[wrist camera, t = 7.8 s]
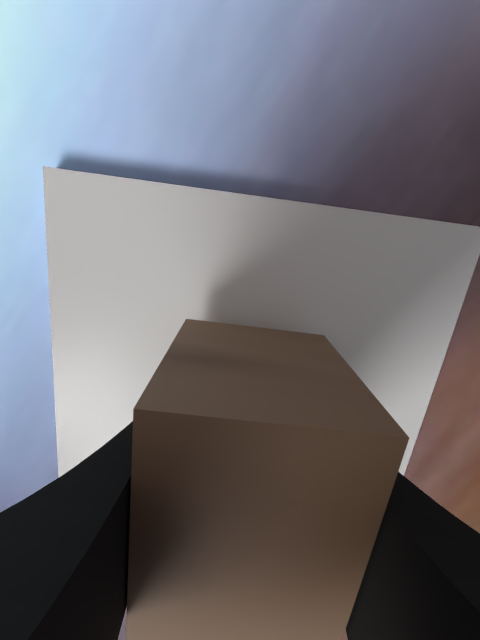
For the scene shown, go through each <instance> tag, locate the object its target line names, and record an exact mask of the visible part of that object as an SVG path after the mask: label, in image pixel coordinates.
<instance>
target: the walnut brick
mask: <svg viewBox="0 0 480 640" xmlns="http://www.w3.org/2000/svg"><path fill="white" fill-rule="evenodd" d="M408 441H409V437H408V435H407V434H406V433H405V432H404V431H403V429H402V428H401V427H400V426H399V425H398V423H397V422H396V421H395V420H394V419H393V417H392V416H391V415H390V414H389V413H388V411H387V410H386V409H385V408H384V407H383V405H382V404H381V403H380V402H379V401H378V399H377V398H376V397H375V396H374V395H373V393H372V392H371V391H370V390H369V389H368V387H367V386H366V385H365V384H364V383H363V381H362V380H361V379H360V378H359V377H358V375H357V374H356V373H355V372H354V371H353V369H352V368H351V367H350V366H349V365H348V363H347V362H346V361H345V360H344V359H343V357H342V356H341V355H340V354H339V353H338V351H337V350H336V349H335V348H334V346H333V345H332V344H331V343H330V342H329V340H328V339H327V338H326V337H325V336H324V335H319V334H310V333H302V332H293V331H285V330H277V329H268V328H260V327H251V326H243V325H235V324H226V323H218V322H209V321H201V320H193V319H186V320H185V322H184V323H183V325H182V327H181V328H180V330H179V332H178V333H177V335H176V337H175V339H174V340H173V342H172V344H171V345H170V347H169V349H168V351H167V352H166V354H165V356H164V357H163V359H162V361H161V362H160V364H159V366H158V368H157V369H156V371H155V373H154V374H153V376H152V378H151V380H150V381H149V383H148V385H147V386H146V388H145V390H144V391H143V393H142V395H141V397H140V398H139V400H138V402H137V403H136V405H135V407H134V409H133V435H132V466H131V497H130V528H129V559H128V590H127V621H126V640H342V638H343V635H344V632H345V629H346V626H347V623H348V620H349V617H350V615H351V612H352V609H353V606H354V603H355V600H356V597H357V594H358V591H359V588H360V585H361V582H362V579H363V576H364V573H365V570H366V567H367V564H368V561H369V558H370V555H371V552H372V549H373V546H374V543H375V540H376V537H377V534H378V531H379V528H380V525H381V522H382V519H383V516H384V513H385V510H386V507H387V504H388V501H389V498H390V495H391V492H392V489H393V486H394V483H395V480H396V477H397V474H398V471H399V468H400V465H401V462H402V459H403V456H404V453H405V450H406V447H407V444H408Z"/></svg>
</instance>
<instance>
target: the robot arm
mask: <svg viewBox="0 0 480 640" xmlns="http://www.w3.org/2000/svg"><path fill="white" fill-rule="evenodd" d="M132 435H133V421H132V422H131V423H130V424H129V425H128V426H126V427H125V428H124V429H123V430H122V431H120V432H119V433H118V434H117V435H115V436H114V437H113V438H112V439H111V440H109V441H108V442H107V443H106V444H104V445H103V446H102V447H101V448H99V449H98V450H97V451H95V452H94V453H92V454H91V455H90V456H88V457H87V458H86V459H84V460H83V461H82V462H80V463H79V464H78V465H76V466H75V467H74V468H72V469H71V470H69V471H68V472H66V473H65V474H63V475H62V476H61V477H59V478H58V479H56V480H54V481H53V482H51V483H50V484H48V485H47V486H45V487H43V488H42V489H40V490H39V491H37V492H35V493H34V494H32V495H30V496H29V497H27V498H25V499H24V500H22V501H20V502H19V503H17V504H15V505H13V506H11V507H10V508H8V509H6V510H4V511H2V512H1V513H0V640H118V636H119V632H120V628H121V625H122V621H123V617H124V613H125V610H126V607H127V590H128V559H129V528H130V497H131V466H132ZM346 632H347V637H348V640H480V534H479V533H478V532H477V531H475V530H474V529H472V528H471V527H469V526H468V525H467V524H465V523H464V522H462V521H461V520H460V519H458V518H457V517H455V516H454V515H453V514H451V513H450V512H449V511H447V510H446V509H445V508H443V507H442V506H441V505H439V504H438V503H437V502H435V501H434V500H433V499H432V498H430V497H429V496H428V495H427V494H425V493H424V492H423V491H422V490H420V489H419V488H418V487H417V486H415V485H414V484H413V483H412V482H410V481H409V480H408V479H407V478H406V477H404V476H403V475H402V474H401V473H400V472H398V474H397V477H396V480H395V483H394V486H393V489H392V492H391V495H390V498H389V501H388V504H387V507H386V510H385V513H384V516H383V519H382V522H381V525H380V528H379V531H378V534H377V537H376V540H375V543H374V546H373V549H372V552H371V555H370V558H369V561H368V564H367V567H366V570H365V573H364V576H363V579H362V582H361V585H360V588H359V591H358V594H357V597H356V600H355V603H354V606H353V609H352V612H351V615H350V617H349V620H348V623H347V626H346Z"/></svg>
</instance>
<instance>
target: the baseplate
mask: <svg viewBox="0 0 480 640" xmlns="http://www.w3.org/2000/svg"><path fill="white" fill-rule="evenodd" d="M43 178H44V198H45V218H46V238H47V258H48V277H49V297H50V317H51V337H52V357H53V377H54V396H55V416H56V436H57V456H58V476H59V477H61V476H62V475H63V474H65V473H66V472H68V471H69V470H71V469H72V468H74V467H75V466H76V465H78V464H79V463H80V462H82V461H83V460H84V459H86V458H87V457H88V456H90V455H91V454H92V453H94V452H95V451H97V450H98V449H99V448H101V447H102V446H103V445H104V444H106V443H107V442H108V441H109V440H111V439H112V438H113V437H114V436H115V435H117V434H118V433H119V432H120V431H122V430H123V429H124V428H125V427H126V426H128V425H129V424H130V423H131V422H132V421H133V409H134V407H135V405H136V403H137V402H138V400H139V398H140V397H141V395H142V393H143V391H144V390H145V388H146V386H147V385H148V383H149V381H150V380H151V378H152V376H153V374H154V373H155V371H156V369H157V368H158V366H159V364H160V362H161V361H162V359H163V357H164V356H165V354H166V352H167V351H168V349H169V347H170V345H171V344H172V342H173V340H174V339H175V337H176V335H177V333H178V332H179V330H180V328H181V327H182V325H183V323H184V322H185V320H186V319H193V320H201V321H209V322H218V323H226V324H235V325H243V326H251V327H260V328H268V329H277V330H285V331H293V332H302V333H310V334H319V335H324V336H325V337H326V338H327V339H328V340H329V342H330V343H331V344H332V345H333V346H334V348H335V349H336V350H337V351H338V353H339V354H340V355H341V356H342V357H343V359H344V360H345V361H346V362H347V363H348V365H349V366H350V367H351V368H352V369H353V371H354V372H355V373H356V374H357V375H358V377H359V378H360V379H361V380H362V381H363V383H364V384H365V385H366V386H367V387H368V389H369V390H370V391H371V392H372V393H373V395H374V396H375V397H376V398H377V399H378V401H379V402H380V403H381V404H382V405H383V407H384V408H385V409H386V410H387V411H388V413H389V414H390V415H391V416H392V417H393V419H394V420H395V421H396V422H397V423H398V425H399V426H400V427H401V428H402V429H403V431H404V432H405V433H406V434H407V435H408V437H409V441H408V444H407V447H406V450H405V453H404V456H403V459H402V462H401V465H400V468H399V471H398V472H400V473H401V474H402V475H403V476H404V474H405V471H406V468H407V465H408V462H409V459H410V456H411V453H412V450H413V448H414V445H415V442H416V439H417V436H418V433H419V430H420V427H421V424H422V421H423V418H424V415H425V412H426V410H427V407H428V404H429V401H430V398H431V395H432V392H433V389H434V386H435V383H436V380H437V377H438V375H439V372H440V369H441V366H442V363H443V360H444V357H445V354H446V351H447V348H448V345H449V342H450V339H451V337H452V334H453V331H454V328H455V325H456V322H457V319H458V316H459V313H460V310H461V307H462V304H463V302H464V299H465V296H466V293H467V290H468V287H469V284H470V281H471V278H472V275H473V272H474V269H475V266H476V264H477V261H478V258H479V255H480V227H479V226H471V225H464V224H457V223H450V222H442V221H435V220H428V219H421V218H413V217H406V216H399V215H392V214H384V213H377V212H370V211H363V210H355V209H348V208H341V207H334V206H326V205H319V204H312V203H305V202H297V201H290V200H283V199H276V198H268V197H261V196H254V195H247V194H239V193H232V192H225V191H218V190H210V189H203V188H196V187H189V186H181V185H174V184H167V183H160V182H152V181H145V180H138V179H131V178H123V177H116V176H109V175H102V174H94V173H87V172H80V171H73V170H65V169H58V168H51V167H44V166H43Z"/></svg>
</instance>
